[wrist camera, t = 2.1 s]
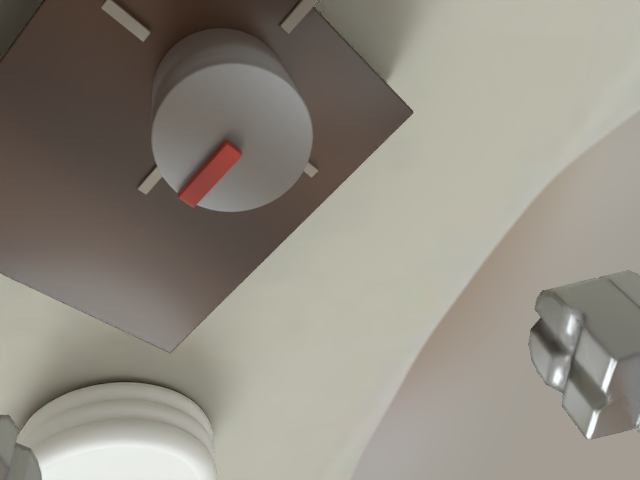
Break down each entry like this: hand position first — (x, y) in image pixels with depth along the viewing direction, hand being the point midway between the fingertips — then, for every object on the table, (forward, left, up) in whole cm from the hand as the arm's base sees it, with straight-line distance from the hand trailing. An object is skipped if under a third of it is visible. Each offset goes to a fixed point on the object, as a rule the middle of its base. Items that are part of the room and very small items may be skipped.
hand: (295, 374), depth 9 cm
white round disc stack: (+19, +9, -15) cm, 26 cm away
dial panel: (+3, 0, -15) cm, 15 cm away
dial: (0, 0, -12) cm, 12 cm away
